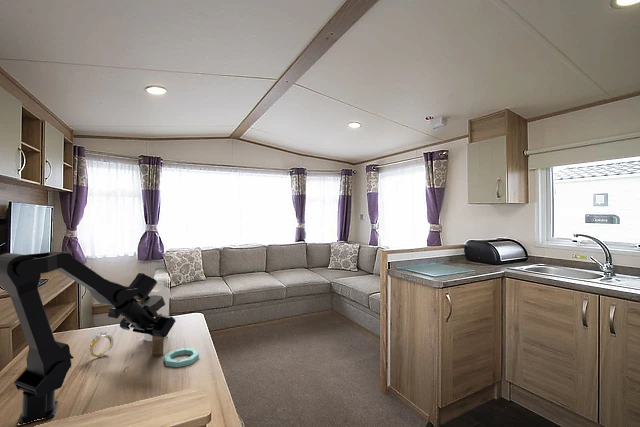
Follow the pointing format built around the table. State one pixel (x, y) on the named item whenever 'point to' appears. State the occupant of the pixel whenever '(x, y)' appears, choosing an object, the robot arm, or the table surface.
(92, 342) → the ring
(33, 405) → the robot arm
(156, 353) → the brown peg
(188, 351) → the teal faceted ring
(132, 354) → the table surface
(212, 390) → the table surface
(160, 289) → the milk
